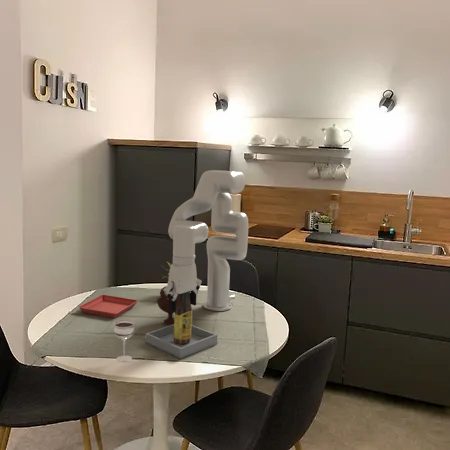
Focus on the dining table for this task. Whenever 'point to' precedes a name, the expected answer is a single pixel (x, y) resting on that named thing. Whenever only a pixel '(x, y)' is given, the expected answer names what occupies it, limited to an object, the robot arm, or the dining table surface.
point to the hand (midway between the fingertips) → (182, 307)
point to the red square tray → (108, 306)
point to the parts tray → (165, 342)
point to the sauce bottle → (183, 319)
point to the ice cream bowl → (166, 306)
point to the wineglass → (124, 335)
